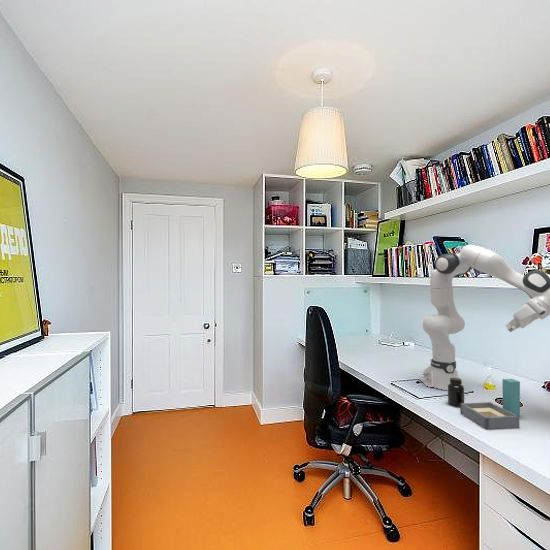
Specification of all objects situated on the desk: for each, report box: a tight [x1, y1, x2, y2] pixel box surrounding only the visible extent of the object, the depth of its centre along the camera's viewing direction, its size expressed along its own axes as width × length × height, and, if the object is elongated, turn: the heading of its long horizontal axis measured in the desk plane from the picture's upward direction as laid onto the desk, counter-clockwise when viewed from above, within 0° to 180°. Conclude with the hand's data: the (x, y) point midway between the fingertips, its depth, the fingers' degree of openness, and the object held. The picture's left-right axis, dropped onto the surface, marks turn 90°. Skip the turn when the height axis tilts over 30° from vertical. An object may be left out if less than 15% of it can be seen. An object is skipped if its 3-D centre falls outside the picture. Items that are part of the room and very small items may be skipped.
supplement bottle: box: [447, 377, 465, 408], centre depth 164 cm, size 7×7×12 cm
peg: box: [502, 378, 521, 418], centre depth 152 cm, size 4×4×15 cm
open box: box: [459, 401, 520, 431], centre depth 147 cm, size 16×14×4 cm
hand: (507, 329), depth 154 cm, fingers open, 8 cm apart
